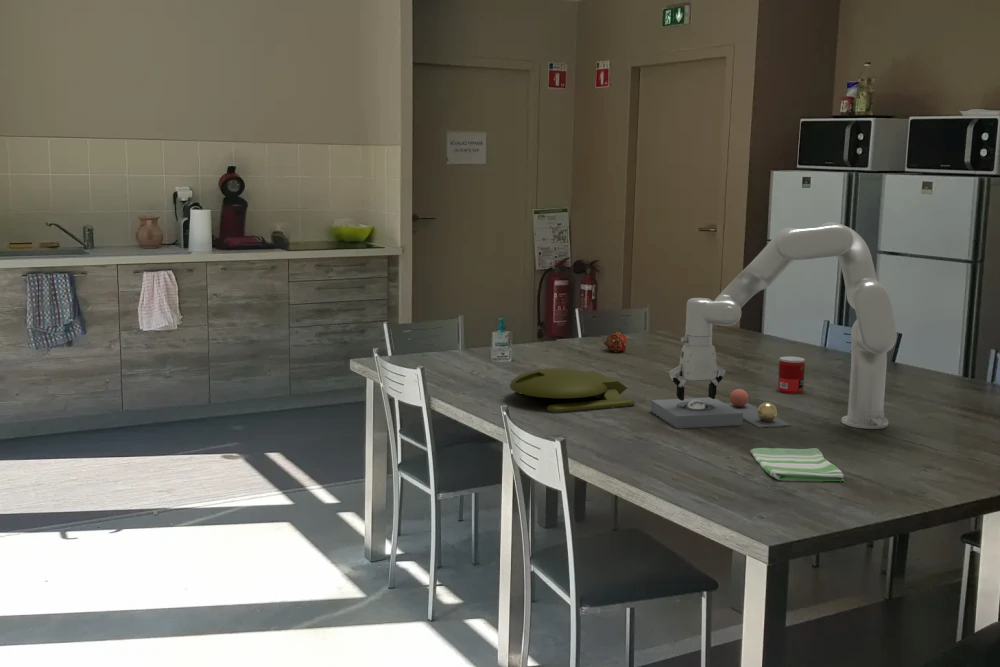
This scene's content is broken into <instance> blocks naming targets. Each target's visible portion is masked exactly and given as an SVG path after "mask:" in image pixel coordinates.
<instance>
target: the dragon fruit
mask: <svg viewBox="0 0 1000 667" xmlns="http://www.w3.org/2000/svg"><path fill="white" fill-rule="evenodd" d="M627 343H628V342H627V337H626V335H625V334H622V333H621V332H619V331H614V332H613V333H611V334H610V335H608V336H607V337H606V340H605V341H603V345H604V346H606V347H607V350H608V351H610V352H614V353H616V352H618V353H619V352H620V351H621V352H625V350H626V348H627Z"/></svg>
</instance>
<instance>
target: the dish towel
mask: <svg viewBox="0 0 1000 667" xmlns="http://www.w3.org/2000/svg"><path fill="white" fill-rule="evenodd" d="M749 453H750V454H751V455H752V456H753V458H754V459H755V461H756V463H758V465H759V466H760V467H761V468H762V469H763V471H764V472H766V474H768V476H770V477H772V478H774V479H775V480H778V481H785V482H786V481H787V482H788V481H789V482H790V481H791V482H823V481H840V482H839V483H842V482H841V481H844V482H845V480H844V474H843V472H842V470H840V469H839V468H838V467H837V466H836V465H834V464H833V463H831V462H829V460H828V459H826V458H824V454H823V453H822V452H821V451H820V449H819V448H818V447H816V448H815V447H813V448H781V447H778V448H773V447H772V448H771V447H770V448H769V447H755V448H752V449H750V451H749Z"/></svg>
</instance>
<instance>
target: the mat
mask: <svg viewBox="0 0 1000 667" xmlns="http://www.w3.org/2000/svg"><path fill="white" fill-rule="evenodd" d="M724 403H725V404H727V405H729V406H731V407H733V408H735V409H736V410H738V411H740V412H742V413H743V420H744V421H745V422H747V423H749V424H750V425H753V426H754V427H756V428H758V429H763V428H764V427H768V428H781V427H783V426H786V427H792V424H790V423H789V422H786V421H785V420H783V419H780V418H779V417H777V416H776V417H775V419H774V420H772V421H769V422H765V421H763V420H761V419H760V418H759V417H758V414H757V410H758V407H757V406H754V405H753V404H751V403H749V402H747V404H746V405H744V406H742V407H736V406H734V405H733V404H732V403H731V402H729V403H728V402H724ZM764 429H765V428H764Z"/></svg>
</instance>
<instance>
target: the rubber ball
mask: <svg viewBox="0 0 1000 667" xmlns="http://www.w3.org/2000/svg"><path fill="white" fill-rule="evenodd" d="M729 401H730V403H732V404H733V405H734V406H736V407H742V406H744V405H746V404H747V403H749V394H748V393H747V391H746V390H744V389H742V388H736V389H734V390H732V392H731V393H730V395H729Z"/></svg>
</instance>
